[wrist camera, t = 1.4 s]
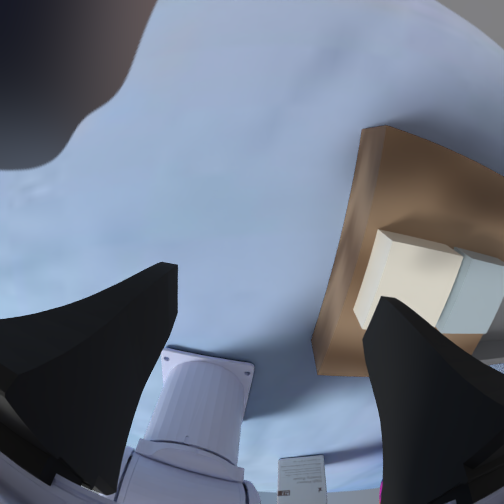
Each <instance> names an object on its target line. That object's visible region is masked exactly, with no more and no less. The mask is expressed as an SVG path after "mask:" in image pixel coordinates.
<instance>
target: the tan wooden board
mask: <svg viewBox="0 0 504 504" xmlns="http://www.w3.org/2000/svg"><path fill="white" fill-rule="evenodd" d="M378 229H380V230H384V231H389V232H394V233H398V234H403V235H407V236H412V237H416V238H420V239H425V240H429V241H433V242H437V243H442V244H446V245H447V246H449V247H450V248H452V249H454V247H458V248H462V249H465V250H469V251H473V252H477V253H481V254H484V255H488V256H492V257H495V258H498V259H500V260H501V261H503V262H504V177H503V176H502V175H500V174H498V173H496V172H494V171H493V170H491V169H489V168H487V167H485V166H483V165H481V164H479V163H477V162H475V161H473V160H471V159H469V158H467V157H465V156H463V155H461V154H459V153H457V152H454V151H452V150H450V149H448V148H445V147H443V146H441V145H438V144H436V143H433V142H431V141H429V140H426V139H423V138H421V137H418V136H416V135H413V134H410V133H407V132H405V131H402V130H399V129H396V128H393V127H390V126H387V125H385V126H378V127H372V128H366V129H362V132H361V138H360V145H359V150H358V156H357V162H356V167H355V173H354V178H353V183H352V188H351V193H350V197H349V202H348V207H347V211H346V216H345V220H344V224H343V229H342V233H341V237H340V241H339V245H338V249H337V253H336V257H335V261H334V265H333V268H332V272H331V276H330V279H329V283H328V286H327V290H326V293H325V297H324V300H323V303H322V307H321V310H320V313H319V317H318V320H317V323H316V326H315V329H314V332H313V335H312V339H311V343H312V348H313V353H314V358H315V364H316V369H317V375H328V376H354V377H369V374H368V370H367V367H366V363H365V357H364V350H363V341H362V338H363V336H364V334H365V332H366V329H362V328H361V326H360V323H359V321H358V319H357V317H356V315H355V313H354V311H353V309H354V306H355V303H356V300H357V297H358V294H359V291H360V288H361V285H362V282H363V279H364V276H365V272H366V269H367V266H368V263H369V259H370V256H371V252H372V249H373V245H374V242H375V238H376V234H377V230H378ZM435 328H436V326H435ZM436 329H437V328H436ZM437 330H438V329H437ZM438 331H439V330H438ZM442 334H443V335H444V336H445V337H447V338H448V339H449V340H451V341H452V342H453V343H455V344H456V345H457V346H459V347H460V348H461V349H463V350H464V351H466V352H467V353H469V354H470V355H472V353H473V352H474V350H475V348H476V346H477V345H478V343H479V341H480V339H481V337H482V335H483V334H449V333H442Z"/></svg>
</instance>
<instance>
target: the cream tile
mask: <svg viewBox="0 0 504 504" xmlns="http://www.w3.org/2000/svg"><path fill="white" fill-rule="evenodd" d="M462 260H463V256H462V255H461V254H459V253H458V252H456V251H455V250H453V249H452V248H450V247H449V246H447V245H446V244H442V243H437V242H433V241H429V240H425V239H420V238H416V237H412V236H407V235H403V234H398V233H394V232H389V231H384V230H380V229H378V230H377V234H376V238H375V242H374V245H373V249H372V252H371V256H370V259H369V263H368V266H367V269H366V272H365V276H364V279H363V282H362V285H361V288H360V291H359V294H358V297H357V300H356V303H355V306H354V309H353V311H354V313H355V315H356V317H357V319H358V321H359V323H360V326H361V328H362V329H366V330H367V328H368V325H369V323H370V321H371V319H372V316H373V314H374V312H375V309H376V307H377V305H378V302H379V300H380V297H381V296H386V297H394V298H397V299H398V300H400V301H401V302H403V303H404V304H406V305H407V306H408V307H410V308H411V309H412V310H414V311H415V312H416V313H417V314H418V315H420V316H421V317H422V318H423V319H425V320H426V321H427V322H428V323H429V324H431V325H432V326H433V327H434V328H435V326H436V323H437V321H438V319H439V317H440V315H441V313H442V310H443V308H444V306H445V304H446V301H447V299H448V297H449V294H450V292H451V289H452V287H453V284H454V282H455V279H456V276H457V274H458V271H459V268H460V265H461V262H462Z"/></svg>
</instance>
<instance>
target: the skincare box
mask: <svg viewBox="0 0 504 504" xmlns="http://www.w3.org/2000/svg"><path fill="white" fill-rule="evenodd" d="M277 504H327V490H326V478H325V467H324V456H323V455H317V456H308V457H297V458H284V459H279V460H278V490H277Z"/></svg>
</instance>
